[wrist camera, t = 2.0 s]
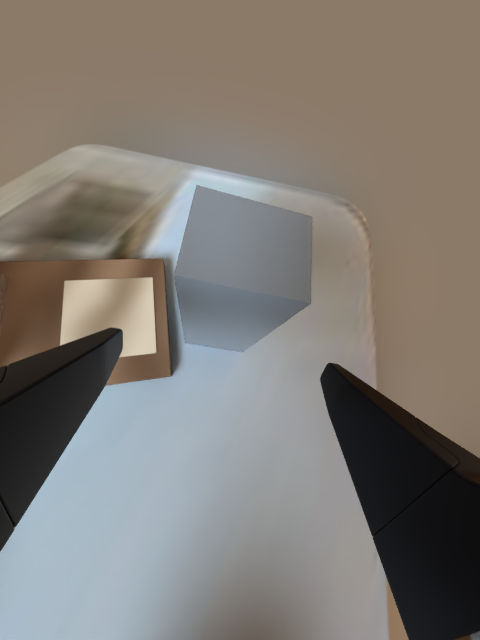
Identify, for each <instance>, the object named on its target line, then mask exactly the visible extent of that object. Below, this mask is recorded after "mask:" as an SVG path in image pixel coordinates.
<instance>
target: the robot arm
mask: <svg viewBox="0 0 480 640" xmlns="http://www.w3.org/2000/svg"><path fill="white" fill-rule="evenodd" d="M122 349H123V331H122V329H119V328H112V327H111V328H108V329H105V330H102V331H99V332H96V333H94V334H91V335H88V336H85V337H83V338H80V339H77V340H74V341H71V342H69V343H66V344H63V345H60V346H58V347H55V348H52V349H49V350H46V351H44V352H41V353H38V354H35V355H33V356H30V357H27V358H24V359H21V360H19V361H16V362H13V363H10V364H8V366H7V365H5V366H2V367H0V551H1V550H2V548H3V547H4V545H5V544H6V542H7V540H8V539H9V537H10V536H11V534H12V532H13V531H14V529H15V528H14V527H16V526H17V524H18V523H19V521H20V520H21V518H22V516H23V515H24V513H25V512H26V510H27V508H28V507H29V505H30V504H31V502H32V501H33V499H34V497H35V496H36V494H37V493H38V491H39V490H40V488H41V486H42V485H43V483H44V482H45V480H46V479H47V477H48V475H49V474H50V472H51V471H52V469H53V467H54V466H55V464H56V463H57V461H58V460H59V458H60V456H61V455H62V453H63V452H64V450H65V449H66V447H67V445H68V444H69V442H70V441H71V439H72V437H73V436H74V434H75V433H76V431H77V430H78V428H79V426H80V425H81V423H82V422H83V420H84V419H85V417H86V415H87V414H88V412H89V411H90V409H91V408H92V406H93V404H94V403H95V401H96V400H97V398H98V396H99V395H100V393H101V392H102V390H103V389H104V387H105V385H106V383H107V381H108V379H109V377H110V375H111V373H112V371H113V369H114V367H115V365H116V363H117V361H118V359H119V356H120V354H121V352H122ZM320 381H321V386H322V390H323V394H324V398H325V402H326V406H327V410H328V413H329V416H330V419H331V422H332V424H333V427H334V430H335V433H336V436H337V438H338V441H339V444H340V447H341V450H342V453H343V455H344V458H345V461H346V464H347V467H348V469H349V472H350V475H351V478H352V481H353V483H354V486H355V489H356V492H357V495H358V497H359V500H360V503H361V506H362V509H363V512H364V514H365V517H366V520H367V523H368V526H369V528H370V531H371V534H372V536H373V540H374V543H375V546H376V549H377V551H378V554H379V557H380V560H381V563H382V565H383V568H384V571H385V574H386V577H387V580H388V582H389V585H390V588H391V591H392V593H393V596H394V599H395V602H396V605H397V608H398V610H399V613H400V616H401V619H402V622H403V625H404V627H405V630H406V633H407V636H408V638H409V640H480V458H478V457H477V456H475V455H474V454H472V453H470V452H469V451H467V450H465V449H464V448H462V447H461V446H459V445H458V444H456V443H455V442H453V441H451V440H450V439H448V438H447V437H445V436H444V435H442V434H440V433H439V432H437V431H436V430H434V429H433V428H431V427H430V426H428V425H427V424H425V423H424V422H422V421H421V420H420V419H418V418H415V416H413V415H412V414H410V413H409V412H408V411H406V410H405V409H403V408H402V407H400V406H399V405H397V404H396V403H394V402H393V401H391V400H390V399H388V398H387V397H385V396H384V395H382V394H381V393H380V392H378V391H377V390H375V389H374V388H372V387H371V386H369V385H368V384H366V383H365V382H363V381H362V380H360V379H359V378H357V377H356V376H354V375H353V374H352V373H350V372H349V371H347V370H346V369H344V368H343V367H341V366H340V365H338V364H334V363H328V364H327V365H326V367H325V369H324V371H323V373H322V375H321V378H320Z"/></svg>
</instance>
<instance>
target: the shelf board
mask: <svg viewBox="0 0 480 640" xmlns="http://www.w3.org/2000/svg"><path fill="white" fill-rule="evenodd" d="M111 327H112V328H119V329H122V331H123V349H122V352H121V354H120V356H119V359H118V361H117V363H116V365H115V367H114V369H113V371H112V373H111V375H110V377H109V379H108V381H107V383H106V385H105V386H107V385H114V384H121V383H128V382H135V381H142V380H149V379H156V378H163V377H170V376H172V371H171V356H170V341H169V326H168V311H167V296H166V281H165V266H164V261H163V259H119V260H66V261H14V262H0V367H2V366H5V365H7V366H8V364H10V363H13V362H16V361H19V360H21V359H24V358H27V357H30V356H33V355H35V354H38V353H41V352H44V351H46V350H49V349H52V348H55V347H58V346H60V345H63V344H66V343H69V342H71V341H74V340H77V339H80V338H83V337H85V336H88V335H91V334H94V333H96V332H99V331H102V330H105V329H108V328H111Z"/></svg>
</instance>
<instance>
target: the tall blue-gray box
mask: <svg viewBox="0 0 480 640" xmlns="http://www.w3.org/2000/svg"><path fill="white" fill-rule="evenodd" d="M311 263H312V217H311V216H307V215H304V214H300V213H296V212H293V211H289V210H285V209H282V208H278V207H275V206H271V205H267V204H264V203H260V202H256V201H253V200H249V199H245V198H242V197H238V196H234V195H231V194H227V193H224V192H220V191H216V190H213V189H209V188H205V187H202V186H198V185H196V189H195V193H194V197H193V201H192V205H191V209H190V213H189V217H188V221H187V225H186V229H185V233H184V237H183V241H182V245H181V249H180V253H179V257H178V261H177V265H176V269H175V273H174V279H175V285H176V291H177V297H178V303H179V309H180V315H181V321H182V327H183V333H184V339H185V343H188V344H195V345H201V346H207V347H213V348H220V349H226V350H232V351H238V352H244V351H245V350H246V349H248V348H249V347H251V346H252V345H253V344H255V343H256V342H258V341H259V340H260V339H262V338H263V337H265V336H266V335H267V334H269V333H270V332H272V331H273V330H274V329H276V328H277V327H279V326H280V325H281V324H283V323H284V322H285V321H287V320H288V319H290V318H291V317H292V316H294V315H295V314H297V313H298V312H299V311H301V310H302V309H304V308H305V307H306V306H308V305H309V304H311Z"/></svg>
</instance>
